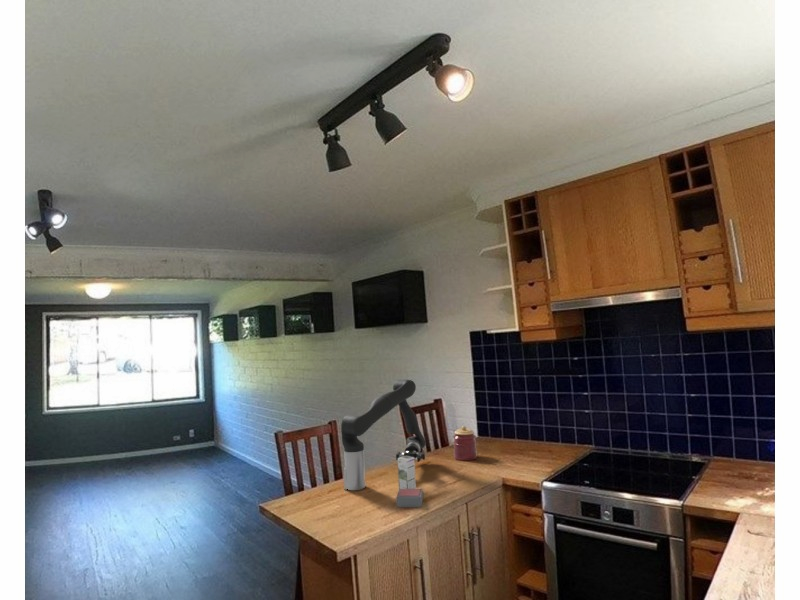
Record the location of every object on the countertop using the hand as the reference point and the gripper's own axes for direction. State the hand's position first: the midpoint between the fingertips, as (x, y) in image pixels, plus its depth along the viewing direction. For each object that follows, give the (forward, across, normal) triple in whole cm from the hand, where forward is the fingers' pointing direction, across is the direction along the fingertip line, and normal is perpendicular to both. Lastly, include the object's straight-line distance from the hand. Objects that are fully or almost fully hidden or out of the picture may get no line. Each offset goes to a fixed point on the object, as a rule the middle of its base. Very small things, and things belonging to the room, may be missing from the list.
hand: (409, 459), depth 219 cm
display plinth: (+27, +3, +10) cm, 29 cm away
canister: (-42, +27, +12) cm, 51 cm away
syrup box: (+11, 0, +10) cm, 15 cm away
